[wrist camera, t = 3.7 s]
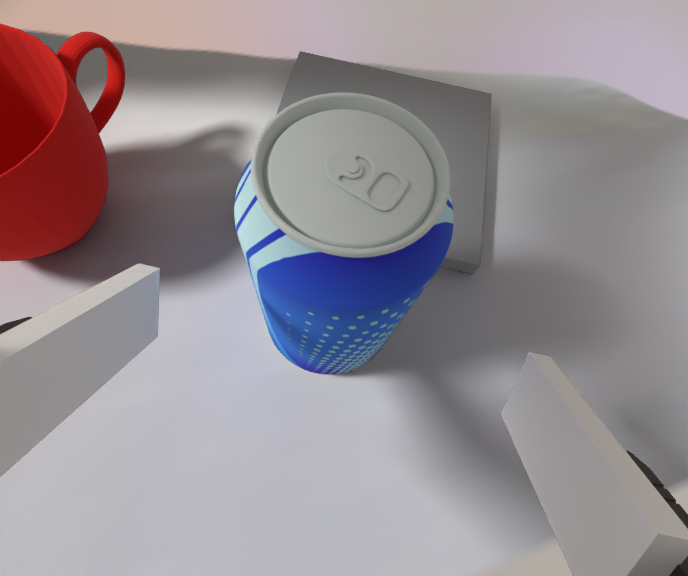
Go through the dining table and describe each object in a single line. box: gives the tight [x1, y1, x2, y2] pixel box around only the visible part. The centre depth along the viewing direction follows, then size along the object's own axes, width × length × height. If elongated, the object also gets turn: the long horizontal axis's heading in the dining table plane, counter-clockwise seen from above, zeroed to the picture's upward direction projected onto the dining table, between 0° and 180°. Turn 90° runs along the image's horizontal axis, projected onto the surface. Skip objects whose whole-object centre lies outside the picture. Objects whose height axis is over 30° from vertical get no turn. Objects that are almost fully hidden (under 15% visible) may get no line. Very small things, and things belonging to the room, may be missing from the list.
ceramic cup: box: [0, 24, 125, 261], centre depth 25 cm, size 13×17×10 cm
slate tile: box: [277, 52, 491, 274], centre depth 32 cm, size 18×18×2 cm
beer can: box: [234, 92, 454, 374], centre depth 20 cm, size 8×8×16 cm
